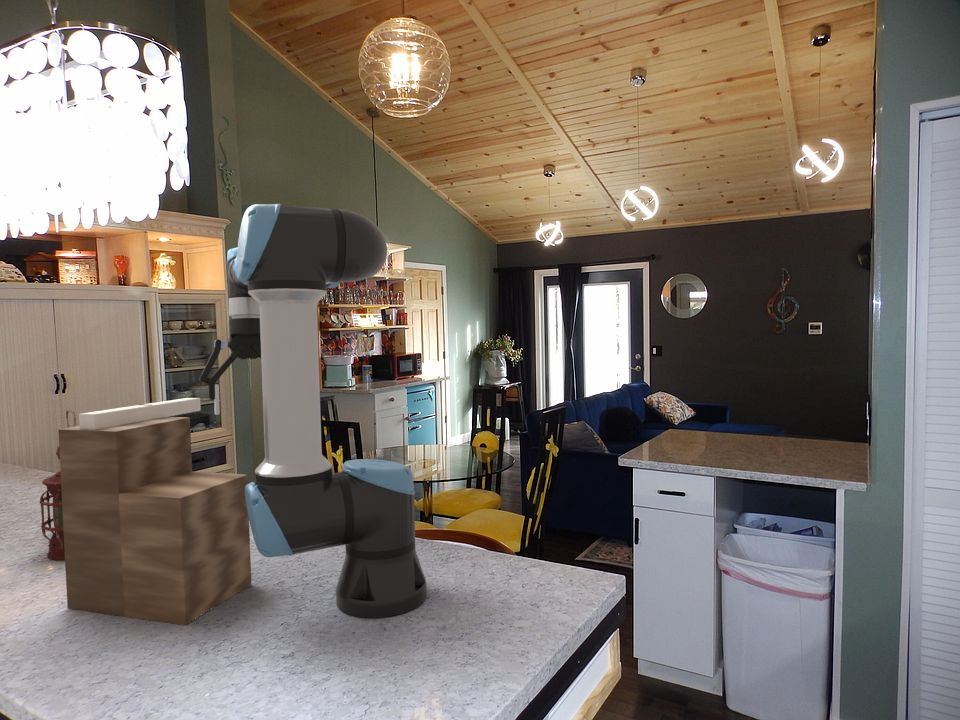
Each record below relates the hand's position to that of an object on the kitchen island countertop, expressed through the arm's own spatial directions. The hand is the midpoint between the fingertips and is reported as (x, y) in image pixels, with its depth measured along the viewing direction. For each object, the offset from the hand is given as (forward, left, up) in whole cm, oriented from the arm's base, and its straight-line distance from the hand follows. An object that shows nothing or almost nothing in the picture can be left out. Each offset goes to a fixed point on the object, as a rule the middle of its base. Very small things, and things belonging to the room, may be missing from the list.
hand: (249, 412), depth 140 cm
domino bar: (-20, +21, +2) cm, 28 cm away
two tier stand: (-28, +19, -28) cm, 44 cm away
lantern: (+7, +34, -28) cm, 45 cm away
